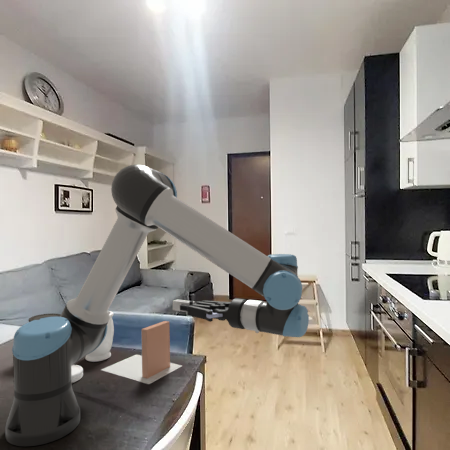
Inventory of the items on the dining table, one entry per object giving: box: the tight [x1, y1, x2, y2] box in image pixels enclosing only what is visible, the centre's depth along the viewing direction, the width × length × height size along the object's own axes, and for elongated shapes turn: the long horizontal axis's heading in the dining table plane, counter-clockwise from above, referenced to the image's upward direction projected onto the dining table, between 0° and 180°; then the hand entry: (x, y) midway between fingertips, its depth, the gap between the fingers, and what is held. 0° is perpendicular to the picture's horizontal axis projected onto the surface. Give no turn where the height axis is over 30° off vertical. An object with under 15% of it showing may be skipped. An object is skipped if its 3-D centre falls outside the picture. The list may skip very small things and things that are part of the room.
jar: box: [84, 310, 115, 363], centre depth 125 cm, size 11×10×15 cm
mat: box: [100, 354, 183, 385], centre depth 113 cm, size 20×15×1 cm
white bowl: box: [71, 364, 84, 384], centre depth 106 cm, size 10×10×4 cm
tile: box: [140, 320, 171, 379], centre depth 110 cm, size 2×10×14 cm, turn 148°
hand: (175, 304), depth 106 cm, fingers closed
